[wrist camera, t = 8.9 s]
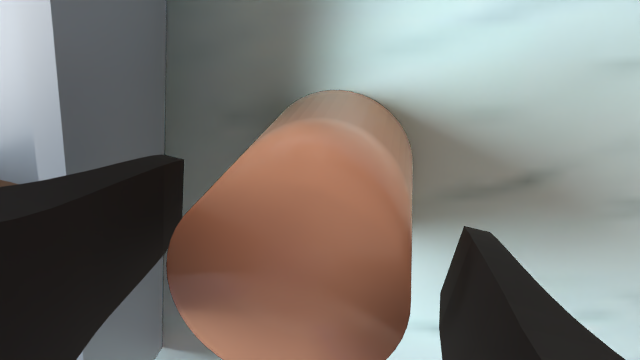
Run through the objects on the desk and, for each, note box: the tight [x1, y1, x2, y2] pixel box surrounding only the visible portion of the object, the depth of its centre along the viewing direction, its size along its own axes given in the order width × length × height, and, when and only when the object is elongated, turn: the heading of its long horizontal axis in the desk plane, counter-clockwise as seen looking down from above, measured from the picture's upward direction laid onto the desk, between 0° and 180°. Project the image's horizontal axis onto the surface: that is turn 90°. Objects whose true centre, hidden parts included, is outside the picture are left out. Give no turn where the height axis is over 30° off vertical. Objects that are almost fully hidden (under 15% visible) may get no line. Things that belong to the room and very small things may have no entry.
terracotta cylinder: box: [166, 90, 413, 360], centre depth 12 cm, size 5×5×7 cm
